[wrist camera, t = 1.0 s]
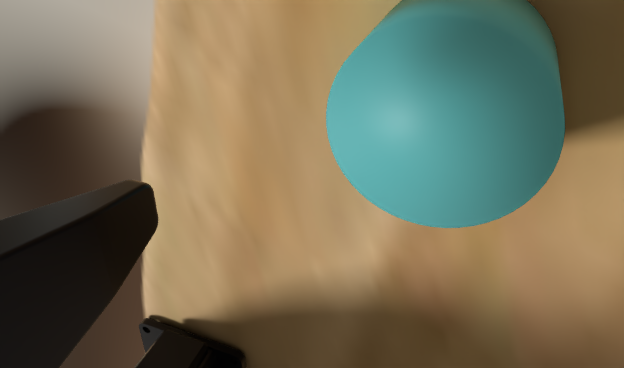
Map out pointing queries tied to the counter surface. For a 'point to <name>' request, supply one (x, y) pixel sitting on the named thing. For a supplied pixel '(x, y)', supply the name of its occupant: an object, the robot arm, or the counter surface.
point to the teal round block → (450, 111)
